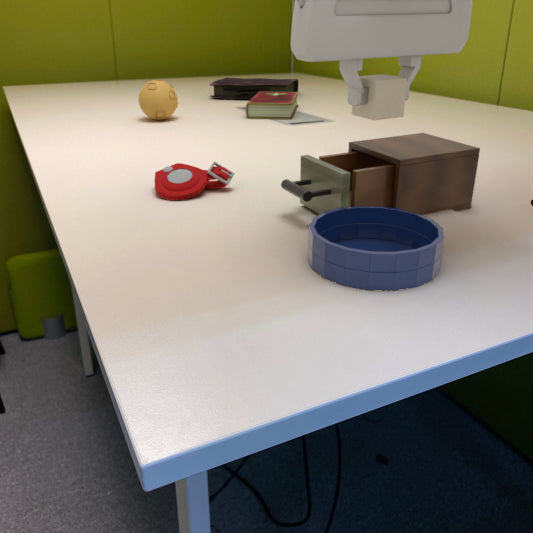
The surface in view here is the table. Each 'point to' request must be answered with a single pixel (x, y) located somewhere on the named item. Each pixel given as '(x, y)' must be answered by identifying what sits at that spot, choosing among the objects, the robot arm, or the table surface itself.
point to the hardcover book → (272, 105)
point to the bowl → (375, 247)
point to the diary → (251, 87)
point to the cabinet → (426, 171)
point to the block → (382, 97)
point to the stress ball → (158, 99)
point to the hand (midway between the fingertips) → (378, 102)
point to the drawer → (343, 181)
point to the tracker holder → (189, 180)
